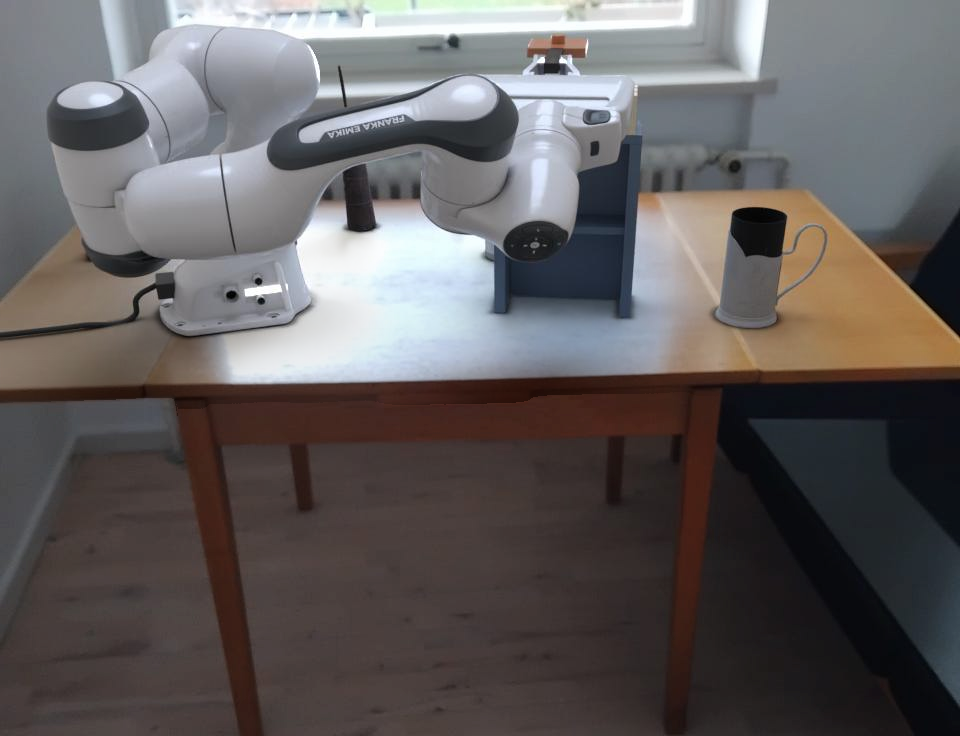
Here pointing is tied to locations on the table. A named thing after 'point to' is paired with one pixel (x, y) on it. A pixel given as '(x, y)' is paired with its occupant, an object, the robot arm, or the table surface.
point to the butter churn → (357, 190)
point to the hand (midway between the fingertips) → (553, 58)
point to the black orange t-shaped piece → (556, 50)
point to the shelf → (587, 240)
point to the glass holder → (756, 267)
